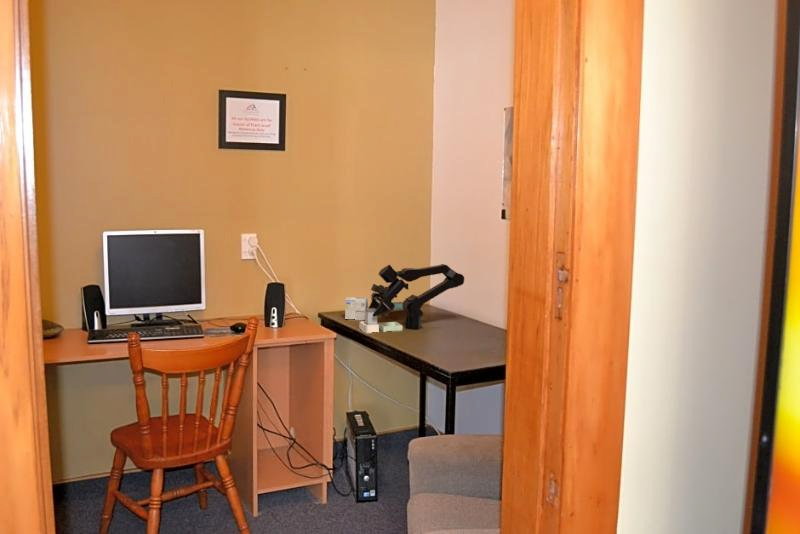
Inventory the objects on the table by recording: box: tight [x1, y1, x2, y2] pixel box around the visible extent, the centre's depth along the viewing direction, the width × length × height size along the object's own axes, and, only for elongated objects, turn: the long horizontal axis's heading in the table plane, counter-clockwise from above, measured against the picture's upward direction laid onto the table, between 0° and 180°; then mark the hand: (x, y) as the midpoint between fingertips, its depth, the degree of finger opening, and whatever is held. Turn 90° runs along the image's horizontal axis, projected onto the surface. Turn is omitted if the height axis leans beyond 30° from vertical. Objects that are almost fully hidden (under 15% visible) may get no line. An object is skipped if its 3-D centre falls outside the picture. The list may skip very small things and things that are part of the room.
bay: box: [358, 320, 380, 334], centre depth 328 cm, size 6×10×4 cm, turn 20°
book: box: [379, 301, 408, 321], centre depth 368 cm, size 23×18×5 cm
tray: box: [377, 321, 403, 333], centre depth 331 cm, size 9×9×2 cm
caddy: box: [365, 307, 378, 325], centre depth 328 cm, size 4×5×10 cm
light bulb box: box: [344, 296, 369, 321], centre depth 355 cm, size 11×7×11 cm, turn 84°
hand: (370, 314), depth 327 cm, fingers open, 9 cm apart
